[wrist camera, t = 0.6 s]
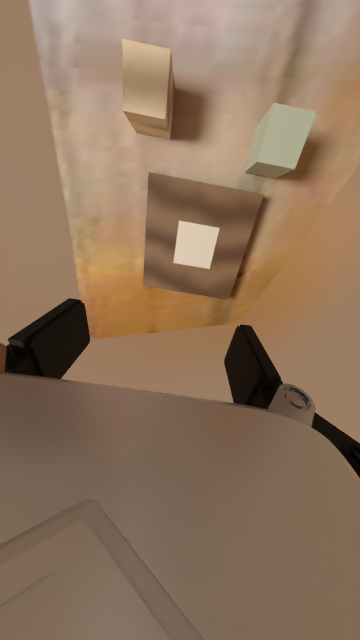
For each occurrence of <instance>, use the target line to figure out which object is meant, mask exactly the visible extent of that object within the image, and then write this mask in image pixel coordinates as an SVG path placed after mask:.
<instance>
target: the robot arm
mask: <svg viewBox="0 0 360 640" xmlns="http://www.w3.org/2000/svg"><path fill="white" fill-rule="evenodd" d="M8 341H9V343H10V344H9V345H7V346H5V345H4V344H1V343H0V640H360V443H358V442H357V441H355V440H354V439H352V438H351V437H350V436H348V435H347V434H345V433H344V432H342V431H341V430H339V429H338V428H337V427H335V426H333V425H332V424H331V423H329V422H328V421H326V420H325V419H324V418H322V417H321V416H319V415H318V414H316V413H315V405H314V403H313V401H312V399H311V398H310V396H309V395H308V394H306V393H305V392H304V391H303V390H301V389H300V388H298V387H296V386H294V385H291V384H283V382H282V381H281V377H280V376H279V374H278V372H277V370H276V369H275V367H274V365H273V363H272V362H271V360H270V358H269V356H268V355H267V353H266V351H265V349H264V347H263V346H262V344H261V342H260V340H259V339H258V337H257V335H256V333H255V332H254V330H253V328H252V327H251V326H249V325H240V326H237V328H236V330H235V333H234V336H233V338H232V341H231V343H230V346H229V349H228V351H227V354H226V357H225V361H224V363H225V368H226V372H227V376H228V381H229V385H230V389H231V393H232V397H233V401H234V403H229V402H223V401H216V400H210V399H203V398H196V397H189V396H181V395H174V394H168V393H161V392H153V391H146V390H138V389H131V388H124V387H116V386H109V385H102V384H94V383H86V382H79V381H71V380H64V379H61V378H62V376H63V375H64V374H65V373H66V372H67V370H68V369H69V368H70V367H71V365H72V364H73V363H74V362H75V360H76V359H77V358H78V357H79V355H80V354H81V353H82V352H83V350H84V349H85V348H86V347H87V345H88V344H89V342H90V335H89V329H88V323H87V316H86V310H85V305H84V303H82V301H81V300H77V299H70V298H69V299H67V300H66V301H64V302H63V303H61V304H60V305H58V306H57V307H55V308H54V309H52V310H51V311H49V312H48V313H46V314H45V315H43V316H42V317H40V318H39V319H37V320H36V321H34V322H33V323H31V324H30V325H28V326H27V327H25V328H24V329H22V330H21V331H19V332H18V333H16V334H15V335H13V336H12V337H10V338H9V339H8Z"/></svg>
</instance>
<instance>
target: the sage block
mask: <svg viewBox="0 0 360 640" xmlns="http://www.w3.org/2000/svg"><path fill="white" fill-rule="evenodd" d="M316 113H317V112H314V111H310V110H305V109H301V108H296V107H291V106H287V105H282V104H278V103H274V104H273V105H272V107H271V108H270V109H269V111H268V112H267V113H266V115H265V116H264V118H263V119H262V120H261V122H260V123H259V124H258V126H257V127H256V131H255V134H254V138H253V142H252V145H251V149H250V153H249V156H248V160H247V164H246V167H245V171H244V173H248V174H253V175H258V176H263V177H268V178H273V179H275V178H277V177H280V176H282V175H284V174H286V173H288V172H290V171H292V170H294V169H295V167H296V165H297V162H298V160H299V157H300V154H301V152H302V149H303V147H304V144H305V141H306V139H307V136H308V134H309V131H310V128H311V126H312V123H313V121H314V118H315V116H316Z"/></svg>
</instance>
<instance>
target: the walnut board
mask: <svg viewBox="0 0 360 640" xmlns="http://www.w3.org/2000/svg"><path fill="white" fill-rule="evenodd" d="M263 196H264V195H263V194H258V193H253V192H248V191H243V190H238V189H232V188H227V187H222V186H217V185H212V184H207V183H202V182H196V181H191V180H186V179H181V178H176V177H171V176H166V175H161V174H155V173H150V172H149V177H148V198H147V218H146V238H145V258H144V279H143V285H144V286H150V287H156V288H162V289H168V290H173V291H179V292H185V293H191V294H197V295H203V296H209V297H215V298H221V299H227V300H229V298H230V295H231V292H232V289H233V286H234V283H235V280H236V277H237V274H238V271H239V268H240V265H241V262H242V259H243V256H244V253H245V250H246V247H247V244H248V241H249V238H250V235H251V232H252V229H253V226H254V223H255V220H256V217H257V214H258V211H259V208H260V205H261V202H262V199H263Z"/></svg>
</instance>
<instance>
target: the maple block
mask: <svg viewBox="0 0 360 640" xmlns="http://www.w3.org/2000/svg"><path fill="white" fill-rule="evenodd" d="M122 45H123V111H124V113H125V115H126V116H127V118H128V120H129V121H130V123H131V124H132V126H133V128H134V129H135V131H136V133H140V134H145V135H150V136H154V137H159V138H164V139H169V140H170V137H171V126H172V115H173V105H174V94H175V83H174V74H173V65H172V56H171V49H166V48H162V47H157V46H153V45H148V44H144V43H139V42H135V41H130V40H126V39H122Z"/></svg>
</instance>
